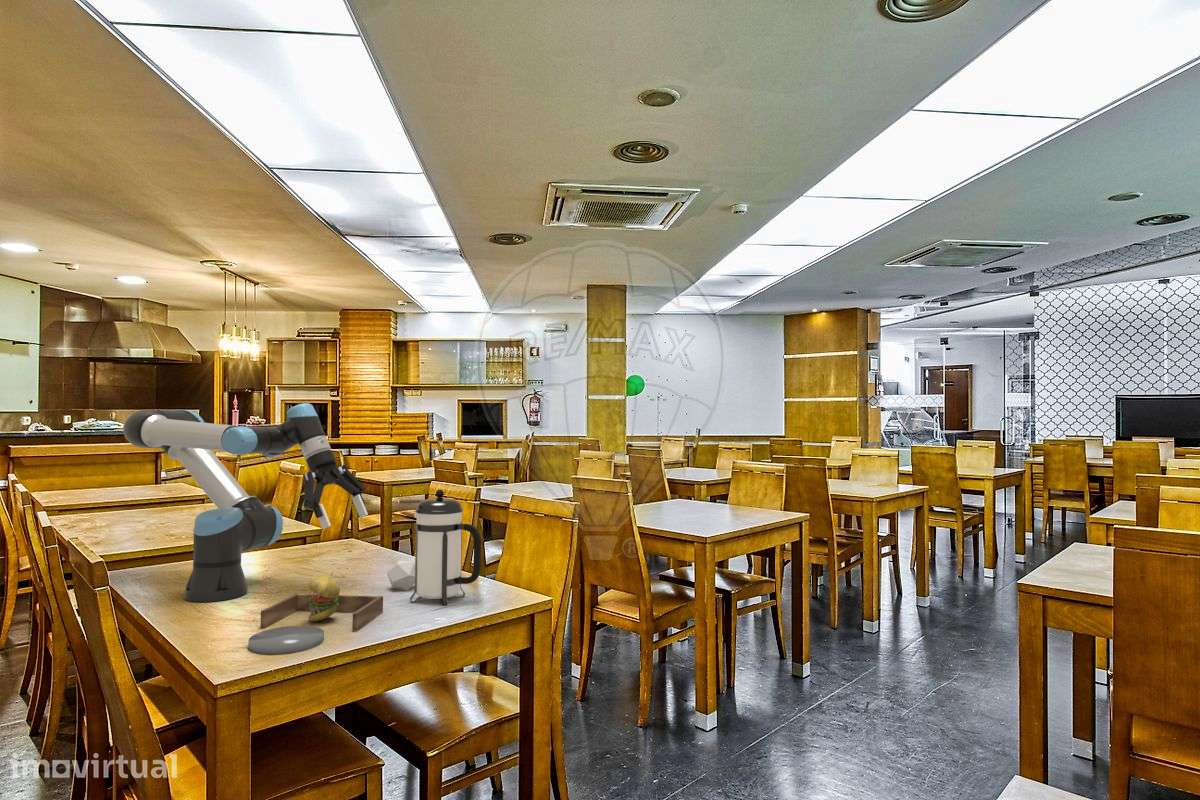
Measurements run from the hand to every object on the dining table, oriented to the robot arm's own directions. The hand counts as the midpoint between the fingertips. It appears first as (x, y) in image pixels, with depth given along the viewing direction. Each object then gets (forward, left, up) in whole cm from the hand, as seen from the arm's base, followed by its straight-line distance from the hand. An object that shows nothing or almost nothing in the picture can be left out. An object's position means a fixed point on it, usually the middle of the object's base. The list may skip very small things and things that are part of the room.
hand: (346, 521), depth 194 cm
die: (+15, +6, -20) cm, 26 cm away
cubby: (+7, -27, -20) cm, 34 cm away
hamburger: (+7, -27, -20) cm, 35 cm away
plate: (+7, -44, -20) cm, 49 cm away
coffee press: (+30, -5, -20) cm, 36 cm away
